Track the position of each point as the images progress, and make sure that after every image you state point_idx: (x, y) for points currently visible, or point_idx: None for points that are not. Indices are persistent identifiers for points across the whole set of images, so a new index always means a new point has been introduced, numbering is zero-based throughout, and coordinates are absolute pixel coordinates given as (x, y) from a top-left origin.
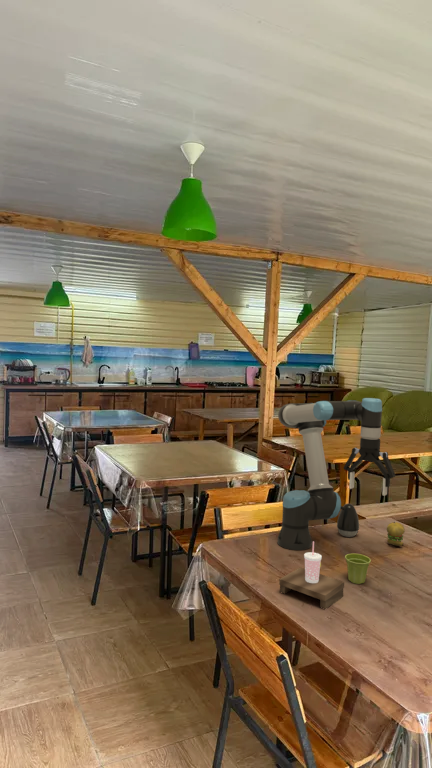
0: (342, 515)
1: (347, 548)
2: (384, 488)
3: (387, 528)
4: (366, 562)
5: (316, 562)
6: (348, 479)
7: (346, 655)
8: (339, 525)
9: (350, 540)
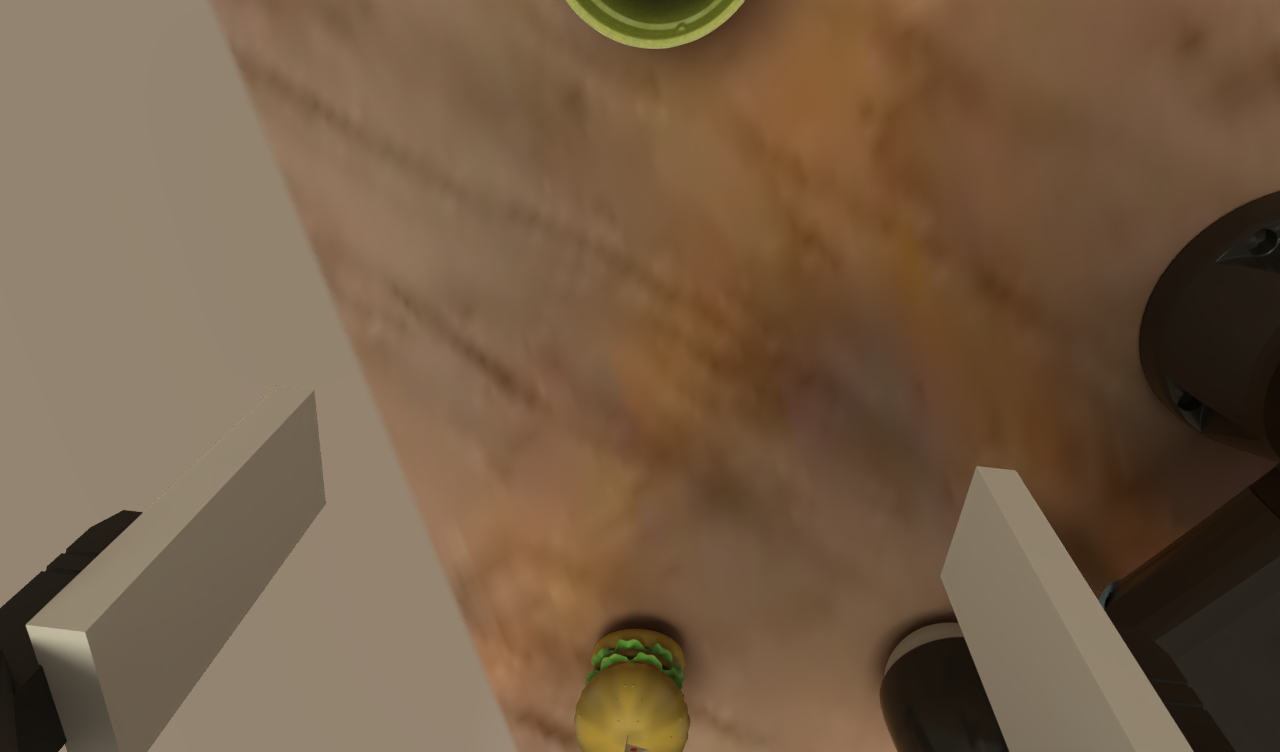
0: None
1: (886, 457)
2: (200, 462)
3: (678, 707)
4: (601, 1)
5: None
6: (1131, 628)
7: None
8: None
9: (902, 587)
